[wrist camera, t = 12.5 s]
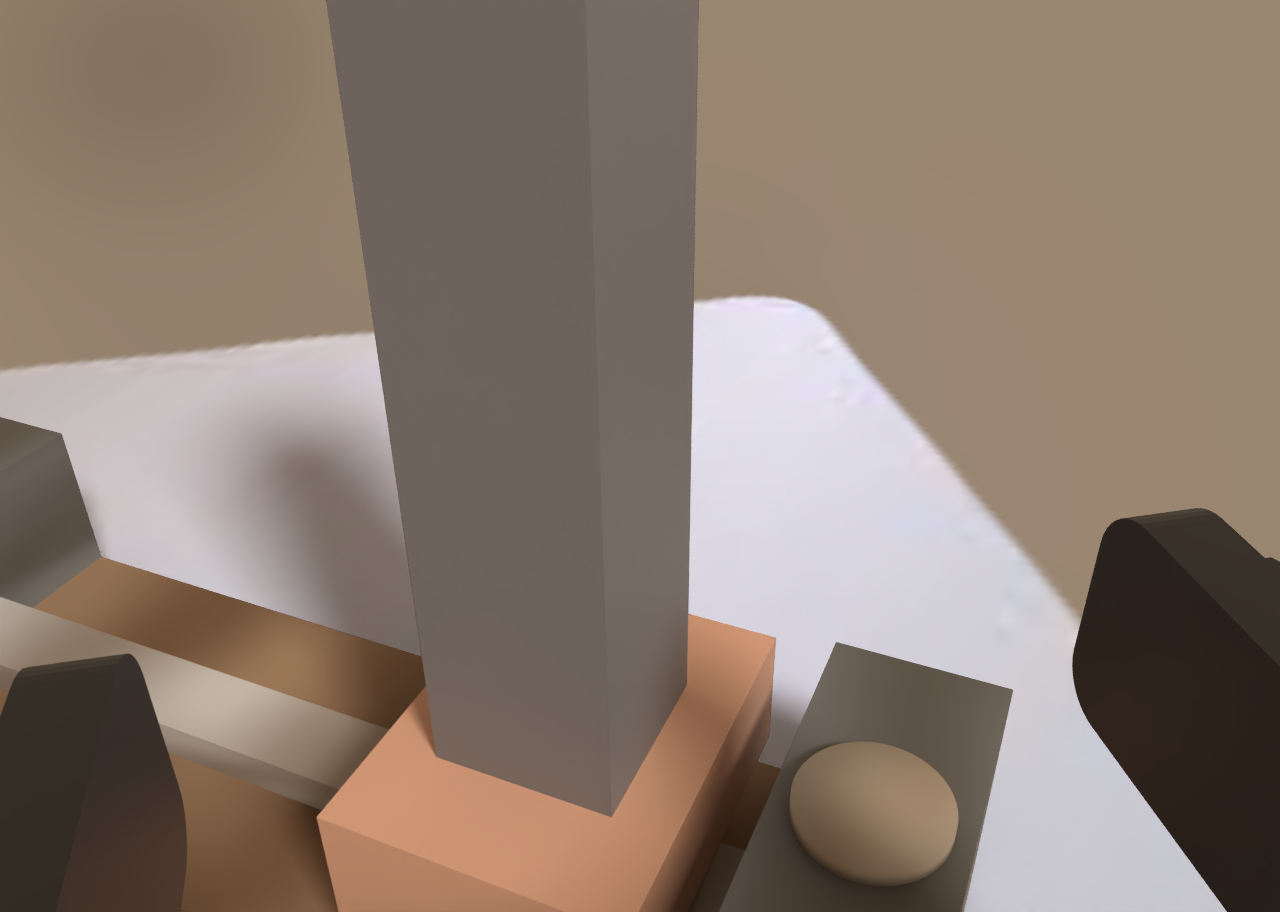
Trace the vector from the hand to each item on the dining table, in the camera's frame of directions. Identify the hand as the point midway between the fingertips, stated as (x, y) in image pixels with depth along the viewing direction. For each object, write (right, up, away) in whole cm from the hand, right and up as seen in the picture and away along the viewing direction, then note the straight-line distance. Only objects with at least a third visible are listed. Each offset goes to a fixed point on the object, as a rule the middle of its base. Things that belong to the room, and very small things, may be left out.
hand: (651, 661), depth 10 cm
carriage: (-1, -5, +10) cm, 11 cm away
